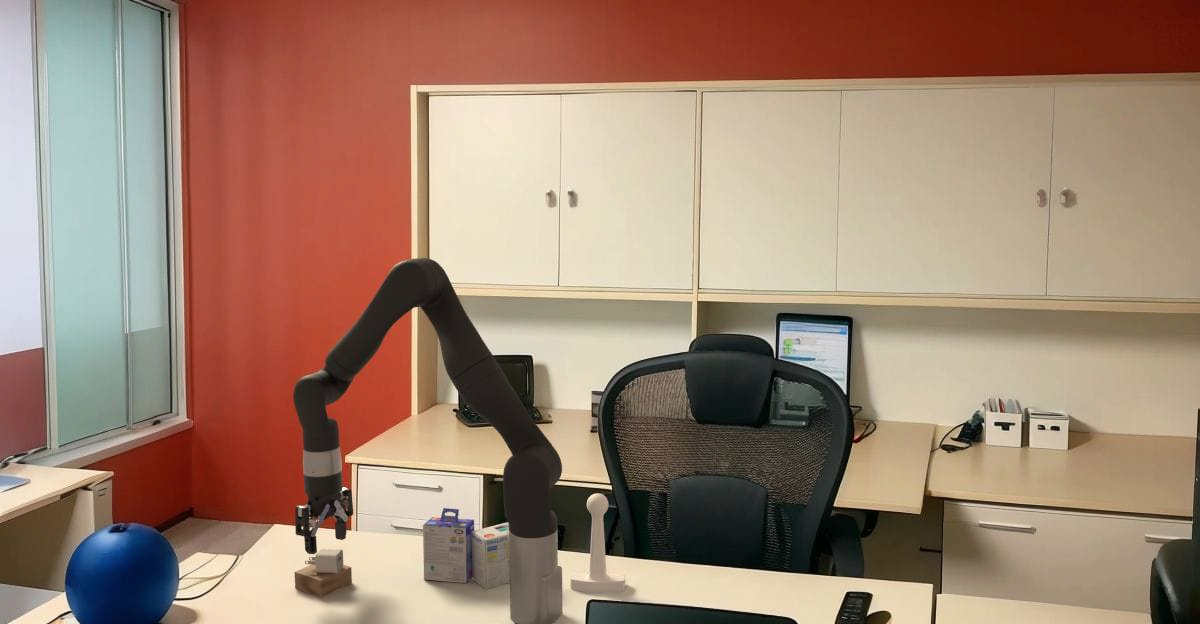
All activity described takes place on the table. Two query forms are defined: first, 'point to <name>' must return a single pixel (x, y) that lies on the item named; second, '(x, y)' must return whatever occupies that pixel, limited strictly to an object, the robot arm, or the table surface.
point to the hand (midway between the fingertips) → (326, 545)
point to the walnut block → (322, 580)
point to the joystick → (597, 555)
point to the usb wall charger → (327, 561)
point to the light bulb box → (491, 555)
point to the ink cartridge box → (448, 548)
